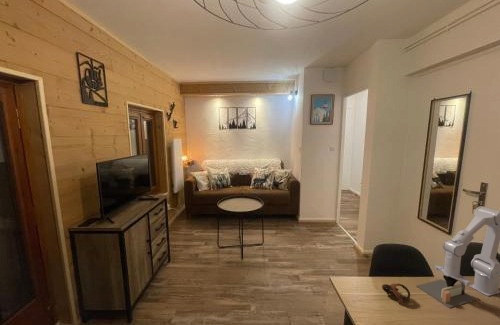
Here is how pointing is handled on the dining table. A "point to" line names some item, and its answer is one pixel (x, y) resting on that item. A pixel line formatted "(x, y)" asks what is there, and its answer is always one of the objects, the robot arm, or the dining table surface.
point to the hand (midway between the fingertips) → (450, 289)
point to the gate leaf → (453, 290)
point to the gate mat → (435, 292)
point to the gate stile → (446, 296)
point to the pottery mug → (394, 290)
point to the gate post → (463, 288)
